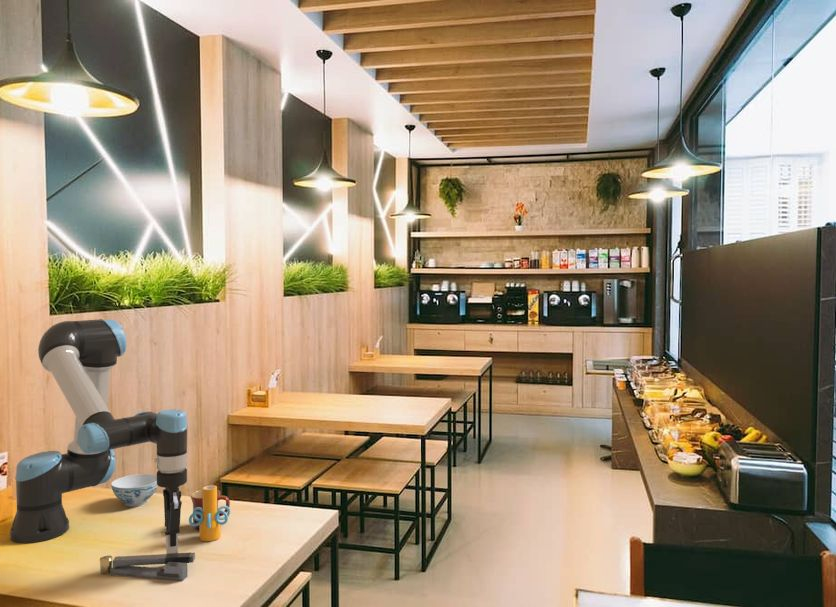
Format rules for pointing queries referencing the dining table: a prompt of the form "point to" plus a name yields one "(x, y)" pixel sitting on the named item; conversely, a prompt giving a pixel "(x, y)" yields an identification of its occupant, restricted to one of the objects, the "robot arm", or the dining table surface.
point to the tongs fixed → (145, 570)
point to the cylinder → (209, 515)
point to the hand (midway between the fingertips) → (172, 556)
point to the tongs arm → (153, 559)
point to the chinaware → (135, 488)
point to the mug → (198, 502)
